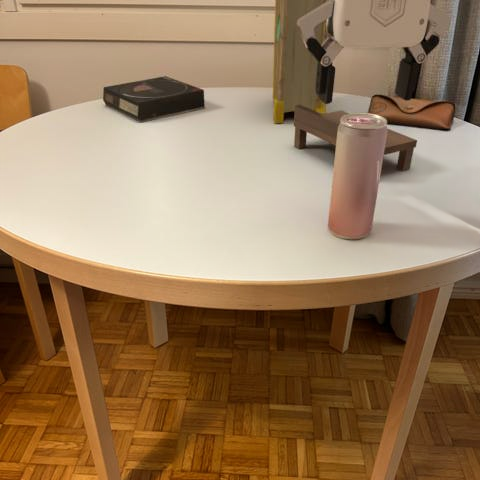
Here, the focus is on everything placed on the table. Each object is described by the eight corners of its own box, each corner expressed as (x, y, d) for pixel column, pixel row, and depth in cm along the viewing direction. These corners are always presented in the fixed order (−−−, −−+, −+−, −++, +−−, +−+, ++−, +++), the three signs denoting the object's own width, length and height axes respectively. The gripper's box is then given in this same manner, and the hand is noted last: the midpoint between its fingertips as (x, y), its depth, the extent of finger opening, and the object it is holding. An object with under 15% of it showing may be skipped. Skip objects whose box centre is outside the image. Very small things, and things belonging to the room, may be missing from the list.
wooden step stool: (338, 136, 104) (342, 97, 100) (411, 169, 91) (420, 125, 86) (292, 146, 100) (294, 105, 96) (362, 182, 86) (368, 136, 82)
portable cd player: (103, 105, 123) (101, 87, 120) (167, 93, 131) (165, 76, 128) (138, 123, 112) (135, 103, 110) (204, 108, 120) (203, 89, 118)
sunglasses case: (362, 120, 111) (368, 87, 110) (364, 128, 117) (371, 97, 117) (451, 129, 106) (459, 95, 105) (449, 138, 112) (456, 105, 111)
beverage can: (333, 218, 76) (344, 110, 67) (374, 224, 74) (392, 115, 65) (322, 236, 72) (333, 124, 63) (366, 244, 70) (384, 129, 61)
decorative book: (271, 98, 126) (275, -56, 108) (317, 99, 126) (329, -56, 107) (272, 125, 110) (277, -50, 92) (325, 125, 110) (341, -51, 92)
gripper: (316, -84, 48) (301, 111, 58) (490, -82, 50) (447, 105, 61) (295, -84, 54) (285, 93, 64) (452, -82, 56) (418, 88, 67)
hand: (363, 99), depth 62 cm, fingers open, 9 cm apart
